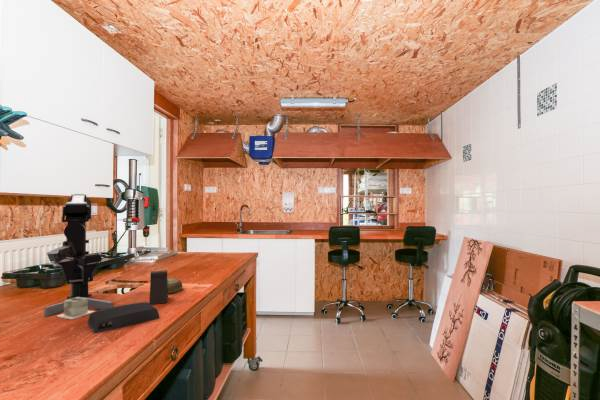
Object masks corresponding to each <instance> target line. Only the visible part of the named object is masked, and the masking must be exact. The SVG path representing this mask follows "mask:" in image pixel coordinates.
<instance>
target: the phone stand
mask: <svg viewBox="0 0 600 400" xmlns="http://www.w3.org/2000/svg"><path fill="white" fill-rule="evenodd" d="M167 278H168V270H153V271H150V280H149V281H150V283H149V285H150V286H149V302H148V303H149V304H151V305H152V306H153V305H162V304H163V305H164V304H167V302H168V299H169V293H168V281H167Z"/></svg>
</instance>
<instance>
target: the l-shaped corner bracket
mask: <svg viewBox="0 0 600 400" xmlns="http://www.w3.org/2000/svg"><path fill="white" fill-rule="evenodd" d="M83 298H86V297H83ZM87 298H88V308H89V309H90V308H91V309H96V310H103V309H107V308H111V307H114V301H109V300H104V299H103V300H102V299H98V298H97V299H96V298H91V297H87ZM89 309H88V312H87V313H84V314H81V315H77V316H74V317H72V316H67V315H64V301H63V302H58V303H55V304H52V305H48V306H44V309H43V310H44V314H43V315H44V316H45V317H50V316H51V315H56V314H58V315H56V317H58V318H61V319H65V320H66V319H67V320H71V321H72V320H75V319H78V318H79V319H80V318H82V317H84V316H87V315H90V314H91V313H92V312H95V310H89ZM62 312H63V313H62ZM60 313H61V314H60Z"/></svg>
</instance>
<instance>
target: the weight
mask: <svg viewBox="0 0 600 400" xmlns="http://www.w3.org/2000/svg"><path fill="white" fill-rule="evenodd" d="M167 281H168V294H172V293H176V292H179V291H181V290H182V289H183V282H182V281H181V279H179V278H175V277H167Z"/></svg>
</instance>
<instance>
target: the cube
mask: <svg viewBox="0 0 600 400" xmlns="http://www.w3.org/2000/svg"><path fill="white" fill-rule="evenodd" d="M88 298H89V297H85V298H83V297H76V298H67V299H65V300H63V302H64V311H63V314H64V315H67V316H72V317H74V316H77V315H81V314H84V313H87V312H88V310H89V307H88Z"/></svg>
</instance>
